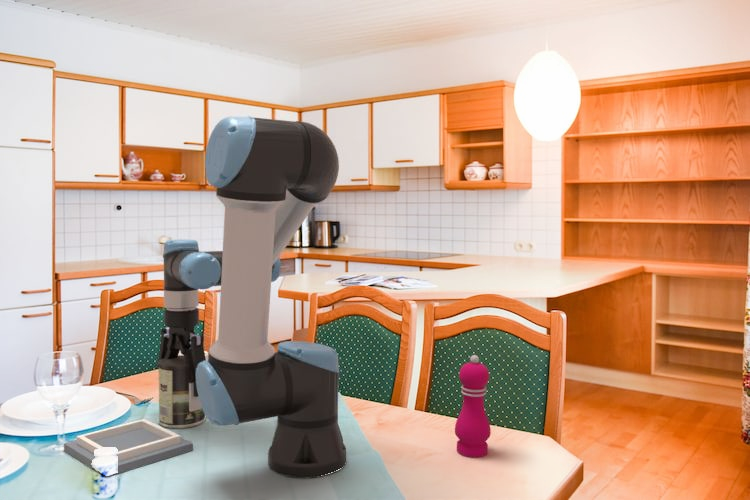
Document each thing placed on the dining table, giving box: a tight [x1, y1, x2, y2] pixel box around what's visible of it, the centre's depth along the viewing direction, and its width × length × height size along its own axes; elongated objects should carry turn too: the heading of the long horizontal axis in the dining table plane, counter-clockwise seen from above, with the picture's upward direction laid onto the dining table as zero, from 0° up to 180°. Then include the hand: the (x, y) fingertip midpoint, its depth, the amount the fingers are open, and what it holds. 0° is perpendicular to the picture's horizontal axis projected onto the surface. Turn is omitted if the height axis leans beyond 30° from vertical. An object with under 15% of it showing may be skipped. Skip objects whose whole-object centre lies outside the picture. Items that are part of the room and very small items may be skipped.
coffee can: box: [157, 355, 206, 429], centre depth 148 cm, size 10×10×14 cm
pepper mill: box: [454, 354, 492, 458], centre depth 133 cm, size 7×7×20 cm
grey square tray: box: [63, 418, 194, 475], centre depth 131 cm, size 18×18×3 cm
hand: (182, 404), depth 149 cm, fingers closed on coffee can, 10 cm apart
